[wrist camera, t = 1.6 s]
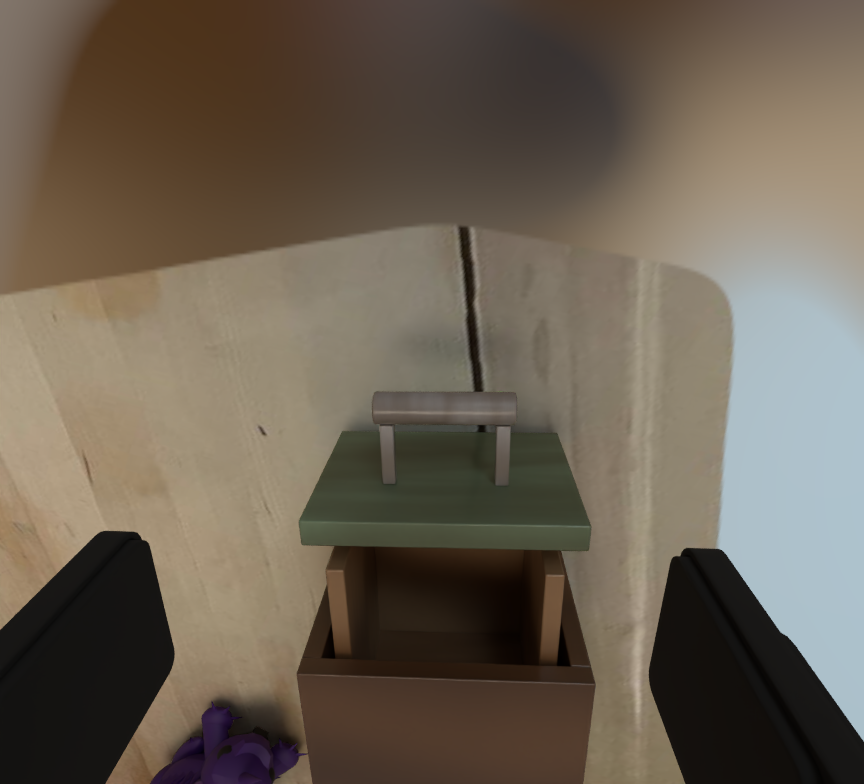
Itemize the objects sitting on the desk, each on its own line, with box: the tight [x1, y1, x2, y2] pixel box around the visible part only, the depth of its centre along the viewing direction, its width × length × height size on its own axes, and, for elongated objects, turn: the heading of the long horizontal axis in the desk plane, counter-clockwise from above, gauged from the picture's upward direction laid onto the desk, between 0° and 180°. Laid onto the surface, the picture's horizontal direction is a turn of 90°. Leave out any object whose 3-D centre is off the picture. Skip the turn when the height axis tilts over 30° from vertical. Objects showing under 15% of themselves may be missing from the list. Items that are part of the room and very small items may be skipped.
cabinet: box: [297, 551, 596, 784], centre depth 31 cm, size 15×13×10 cm
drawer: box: [299, 391, 591, 666], centre depth 27 cm, size 18×12×8 cm, turn 1°
